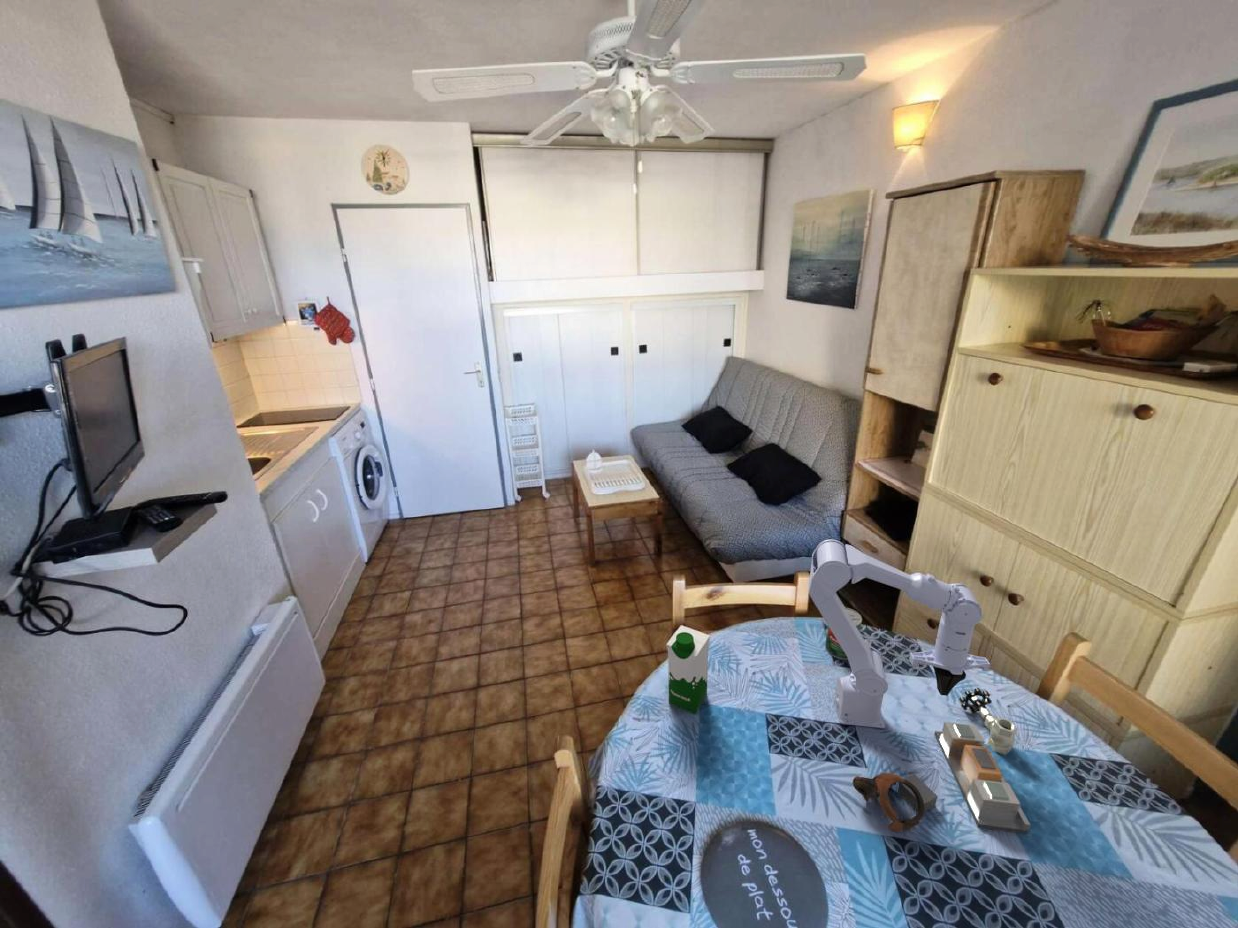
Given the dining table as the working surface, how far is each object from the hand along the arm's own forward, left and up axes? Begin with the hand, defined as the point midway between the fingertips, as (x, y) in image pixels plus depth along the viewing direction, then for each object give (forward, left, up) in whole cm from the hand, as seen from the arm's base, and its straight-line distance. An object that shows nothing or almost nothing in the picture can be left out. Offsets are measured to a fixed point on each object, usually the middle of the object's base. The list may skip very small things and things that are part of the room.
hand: (942, 691), depth 109 cm
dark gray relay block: (-10, -18, -11) cm, 23 cm away
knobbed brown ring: (-16, -20, -11) cm, 28 cm away
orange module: (+3, -12, -9) cm, 16 cm away
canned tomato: (-15, +23, -11) cm, 29 cm away
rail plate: (+3, -12, -10) cm, 16 cm away
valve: (+11, +1, -11) cm, 15 cm away
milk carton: (-55, +1, -11) cm, 56 cm away
